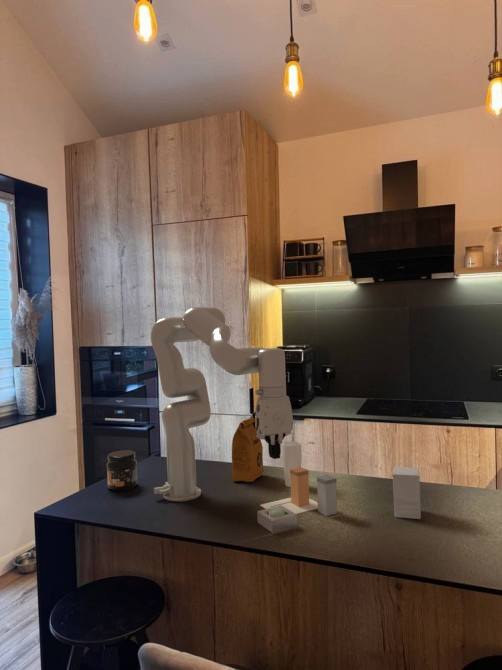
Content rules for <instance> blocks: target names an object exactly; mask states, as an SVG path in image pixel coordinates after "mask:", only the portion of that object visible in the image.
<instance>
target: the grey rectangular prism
mask: <svg viewBox="0 0 502 670" xmlns="http://www.w3.org/2000/svg"><path fill="white" fill-rule="evenodd" d="M316 486H317V487H316V489H317V503H318V509H317V513H319V514H322V516H323V515H324V516H325V517H328V516H332V515H336V514H338V495H337V494H338V493H337V492H338V491H337V490H338V489H337V477H334V476H332V475H329V474H325V475H321V476H316Z"/></svg>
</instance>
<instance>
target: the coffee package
mask: <svg viewBox="0 0 502 670" xmlns="http://www.w3.org/2000/svg"><path fill="white" fill-rule="evenodd" d="M253 423H255V418H254V417H253V416H252V417H250V418H247V419H244V420H242V421H241V422H239V424H238V426H237V428H236V430H235V432H234V434H233V437H232V441H231V468H232V481H233V482H235V483H236V482H245V483H251V482H254V481H255V480H257V479H258V478H260V477H261V476H262V475H263V474H264V459H263V458H264V457H263V456H264V454H263V453H264V450H263V449H264V448H263V443H262V439H258V438H257V437H256V436H257V431H256V427H254V424H253Z"/></svg>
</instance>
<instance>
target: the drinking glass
mask: <svg viewBox="0 0 502 670" xmlns="http://www.w3.org/2000/svg"><path fill="white" fill-rule="evenodd" d="M281 444H282V445H281V454H282V462H283V473H284V482H285V483H284V484H285V487H287V488H291V478H290V469H294V468H299V467H302V459H303V458H302V457H303V452H302V442H301V441H296V440H286V441H282V443H281Z"/></svg>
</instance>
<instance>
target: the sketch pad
mask: <svg viewBox="0 0 502 670" xmlns="http://www.w3.org/2000/svg"><path fill="white" fill-rule="evenodd" d="M280 505H281V506H283V507H285V508H287V509H288V510H290V511H292V512H293V513H295V514H297V515H298V514H302V513H307V512H310V511H314V510H318V501H316V500H313V499H312V498H310V497H309V505H305V506H301V507H298V506H296V505H294V504H292V503H291V497H286V498H284V499H279V500H275V501H270V502H265V503H262V504H259V506H260V507H262V508H263V509H268V508H272V507H276V506H280Z"/></svg>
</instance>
